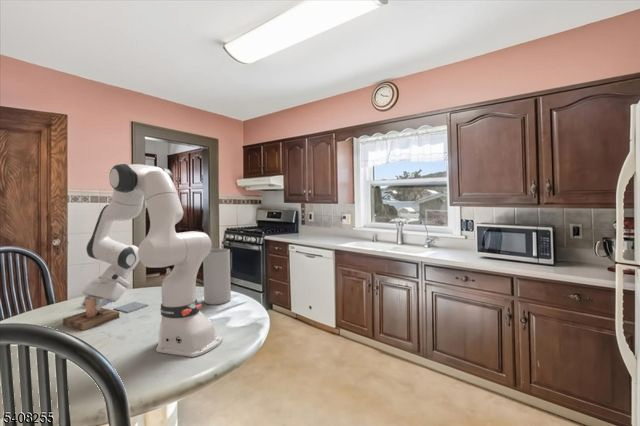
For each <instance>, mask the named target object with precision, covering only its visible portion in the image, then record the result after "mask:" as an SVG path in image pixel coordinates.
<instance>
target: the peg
mask: <svg viewBox="0 0 640 426" xmlns="http://www.w3.org/2000/svg"><path fill="white" fill-rule="evenodd" d="M85 302H86V307H85V312H86V319H90V318H93V317H96V316H97V310H96V309H95V308H94V307H95V306H96V299H88V300H86V301H85Z"/></svg>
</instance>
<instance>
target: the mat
mask: <svg viewBox="0 0 640 426" xmlns="http://www.w3.org/2000/svg"><path fill="white" fill-rule="evenodd" d="M148 306H149V304H146V303H142V302H138V301H132V302H129V303H127V304H123V305H120V306H118V307H114V308H113V311H117V310H118V311H117V312H123V313H126V314H130V313H132V312H135V311H137V309H138V310H141V309H143V307H144V308H146V307H148ZM140 308H141V309H140ZM134 310H135V311H134Z"/></svg>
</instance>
